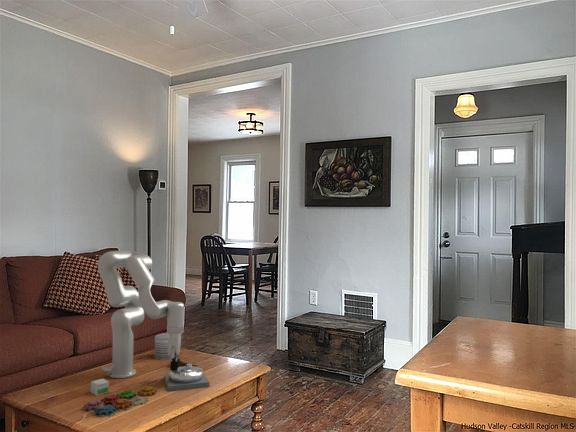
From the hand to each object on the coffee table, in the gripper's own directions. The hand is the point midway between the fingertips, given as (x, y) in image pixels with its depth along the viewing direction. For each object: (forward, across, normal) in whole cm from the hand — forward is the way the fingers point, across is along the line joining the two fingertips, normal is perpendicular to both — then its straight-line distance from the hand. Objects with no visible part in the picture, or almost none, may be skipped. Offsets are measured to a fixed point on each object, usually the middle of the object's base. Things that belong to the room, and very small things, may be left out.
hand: (174, 368), depth 216 cm
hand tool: (+7, -20, +1) cm, 21 cm away
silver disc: (+4, 0, +5) cm, 7 cm away
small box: (+7, +11, -30) cm, 33 cm away
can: (+7, -43, -11) cm, 45 cm away
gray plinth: (+6, 0, +5) cm, 8 cm away
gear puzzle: (+7, +23, -16) cm, 29 cm away
